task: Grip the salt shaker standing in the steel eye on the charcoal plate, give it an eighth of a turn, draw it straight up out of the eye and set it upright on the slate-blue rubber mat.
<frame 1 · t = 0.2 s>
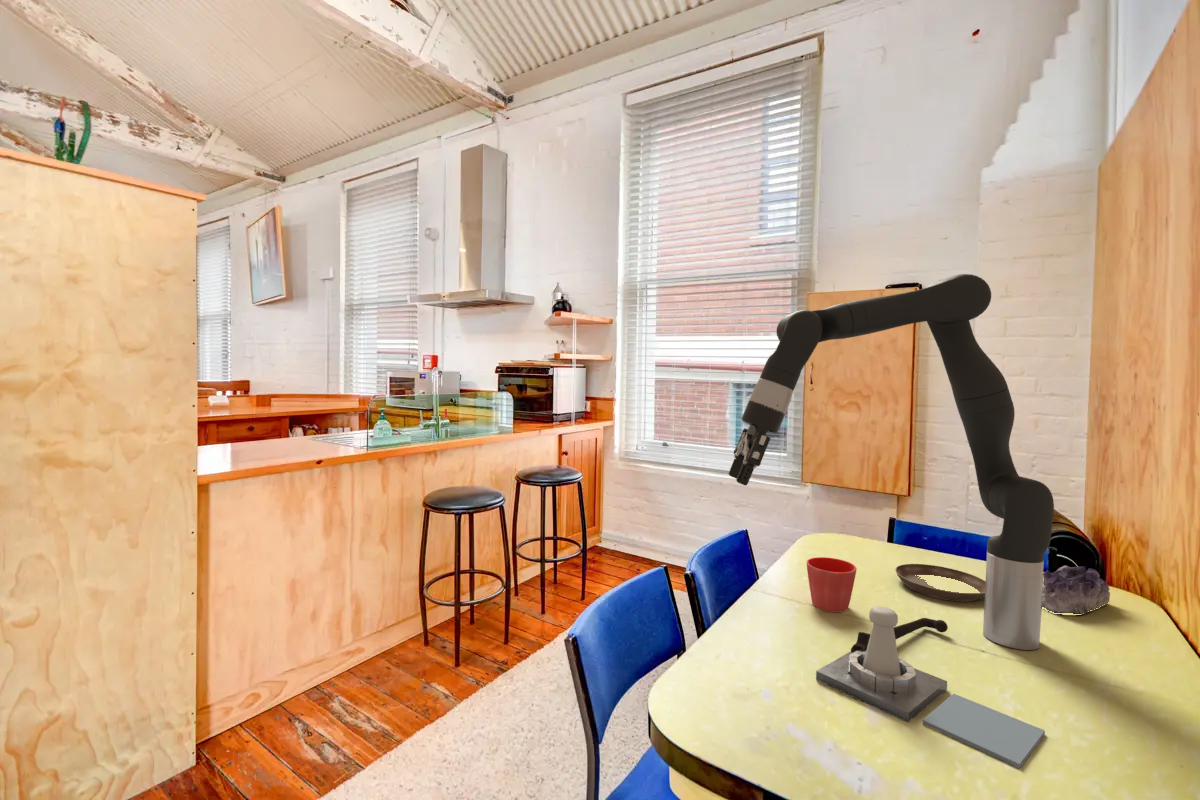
hand: (736, 480, 112), 31 cm above the table, fingers open, 8 cm apart
rubber mat: (983, 729, 83), on the table
plant saucer: (940, 590, 141), on the table
eye plate: (880, 684, 95), on the table
geode: (1071, 607, 132), on the table
salt shaker: (880, 685, 95), resting in eye plate
flower pot: (829, 606, 128), on the table
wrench: (902, 648, 107), on the table, touching eye plate
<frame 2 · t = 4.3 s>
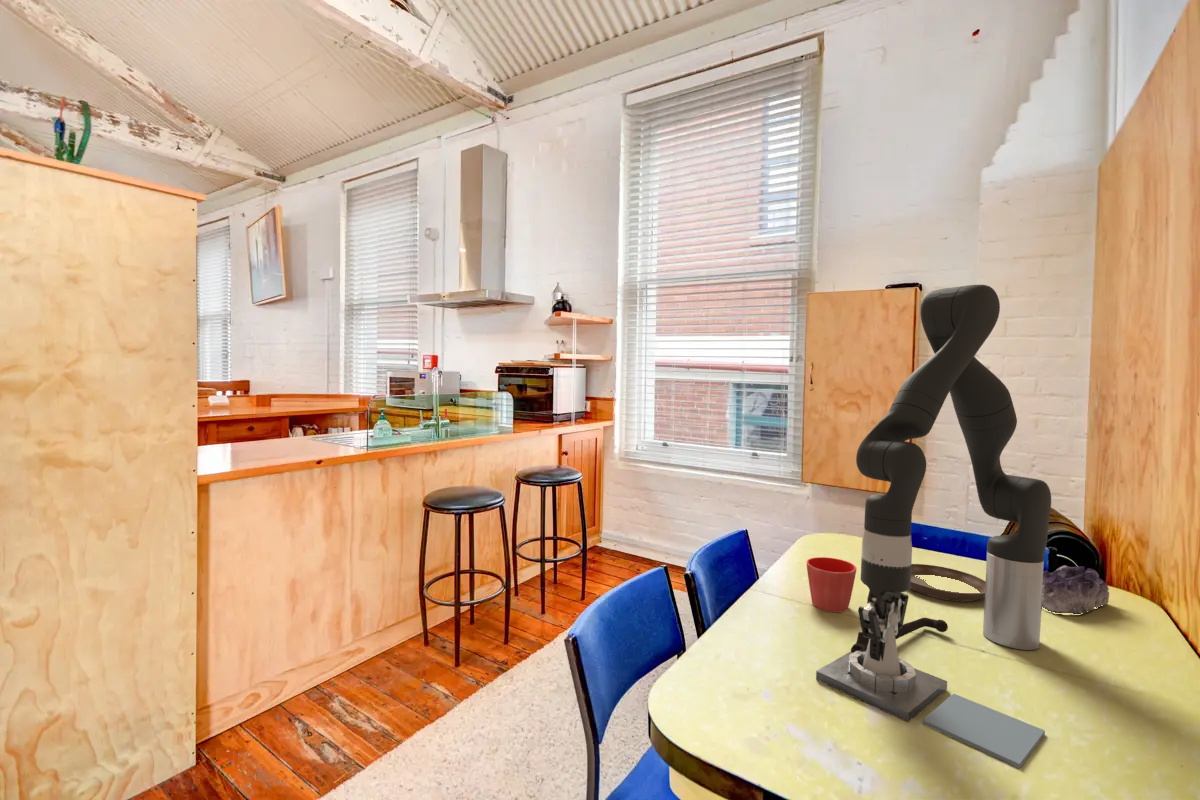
hand: (882, 657, 94), 5 cm above the table, fingers closed on salt shaker, 3 cm apart
salt shaker: (880, 685, 95), resting in eye plate, touching gripper
everything else where it was.
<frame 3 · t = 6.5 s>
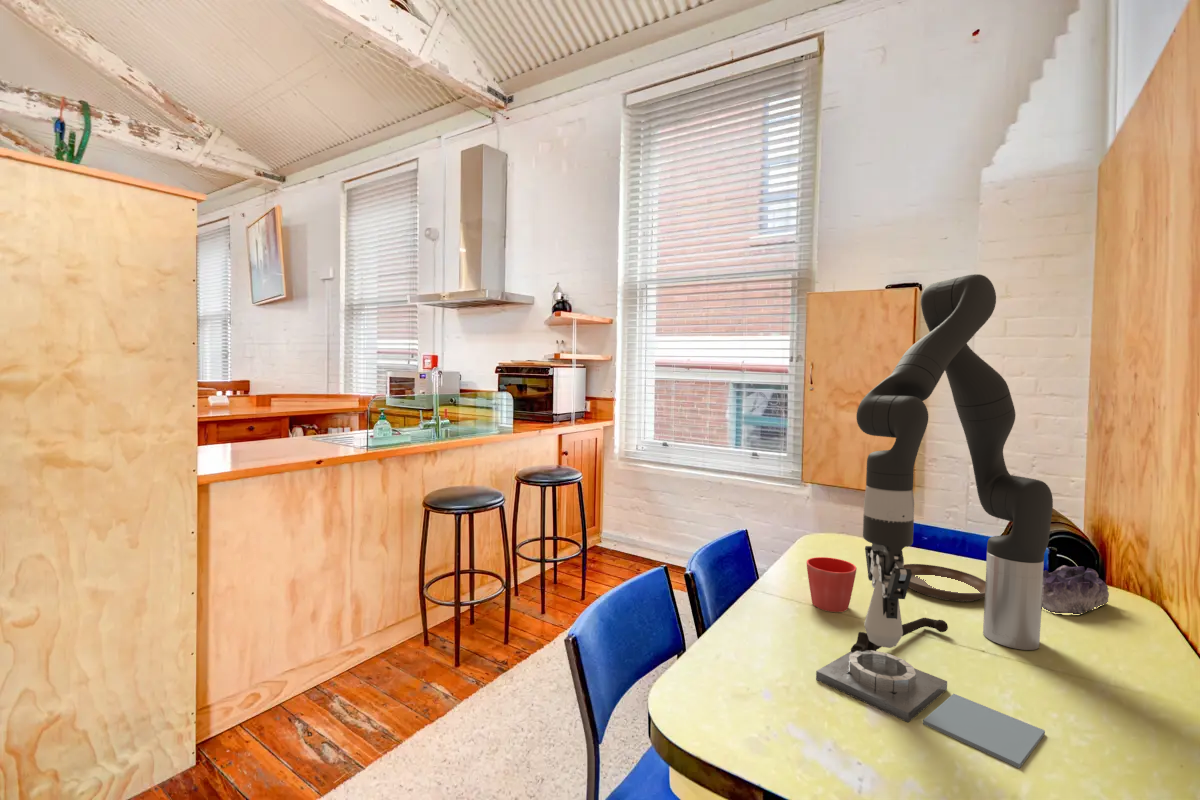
hand: (884, 614, 94), 12 cm above the table, fingers closed on salt shaker, 3 cm apart
salt shaker: (882, 643, 94), point 7 cm above the table, touching gripper
everything else where it was.
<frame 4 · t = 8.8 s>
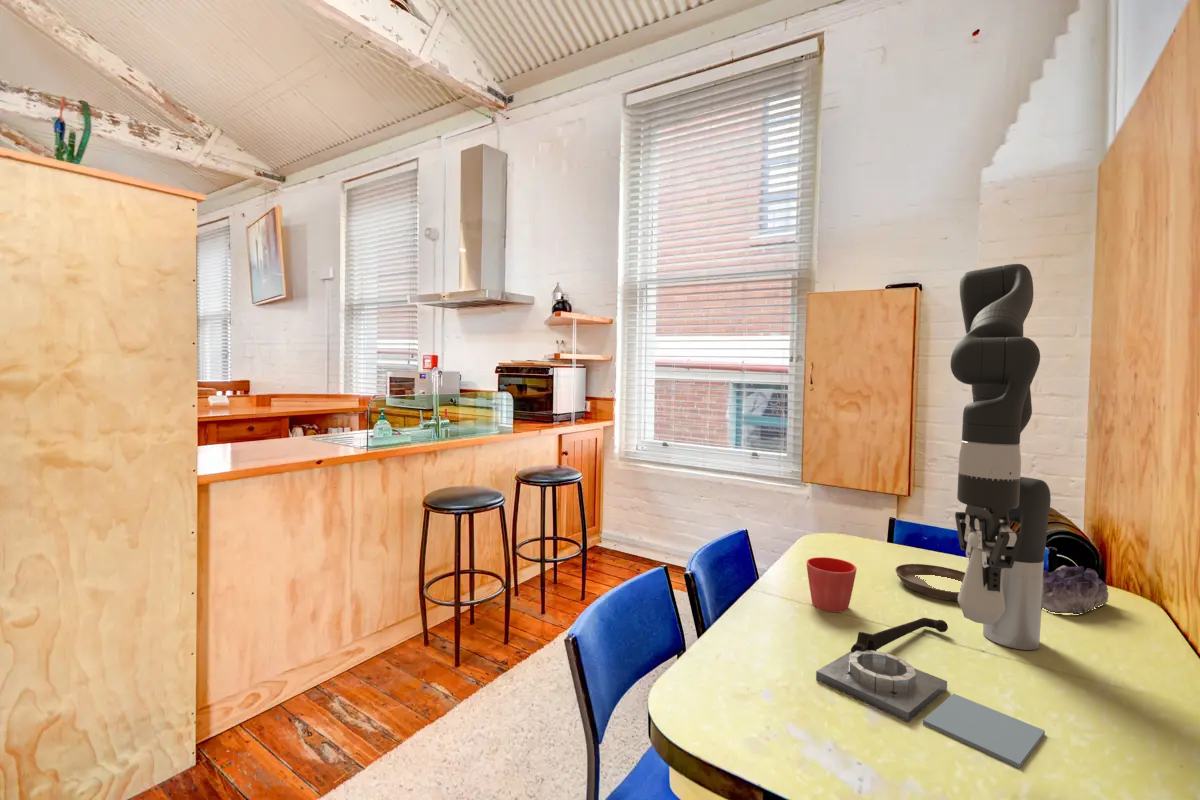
hand: (983, 587, 83), 21 cm above the table, fingers closed on salt shaker, 3 cm apart
salt shaker: (979, 620, 83), point 16 cm above the table, touching gripper
everything else where it was.
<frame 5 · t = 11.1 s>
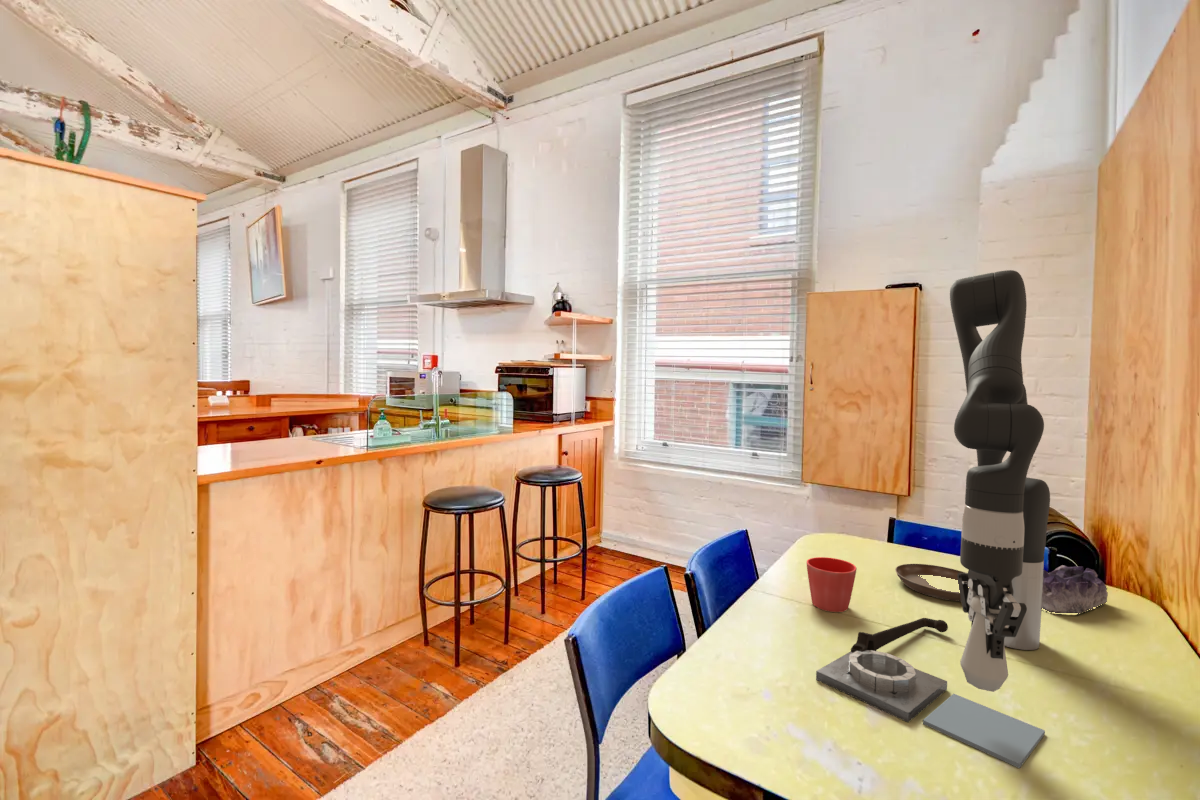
hand: (986, 652, 83), 11 cm above the table, fingers closed on salt shaker, 3 cm apart
salt shaker: (982, 685, 83), point 7 cm above the table, touching gripper
everything else where it was.
when the fingers open (7 cm above the table, at t = 13.1 s): salt shaker drops 1 cm, resting on rubber mat.
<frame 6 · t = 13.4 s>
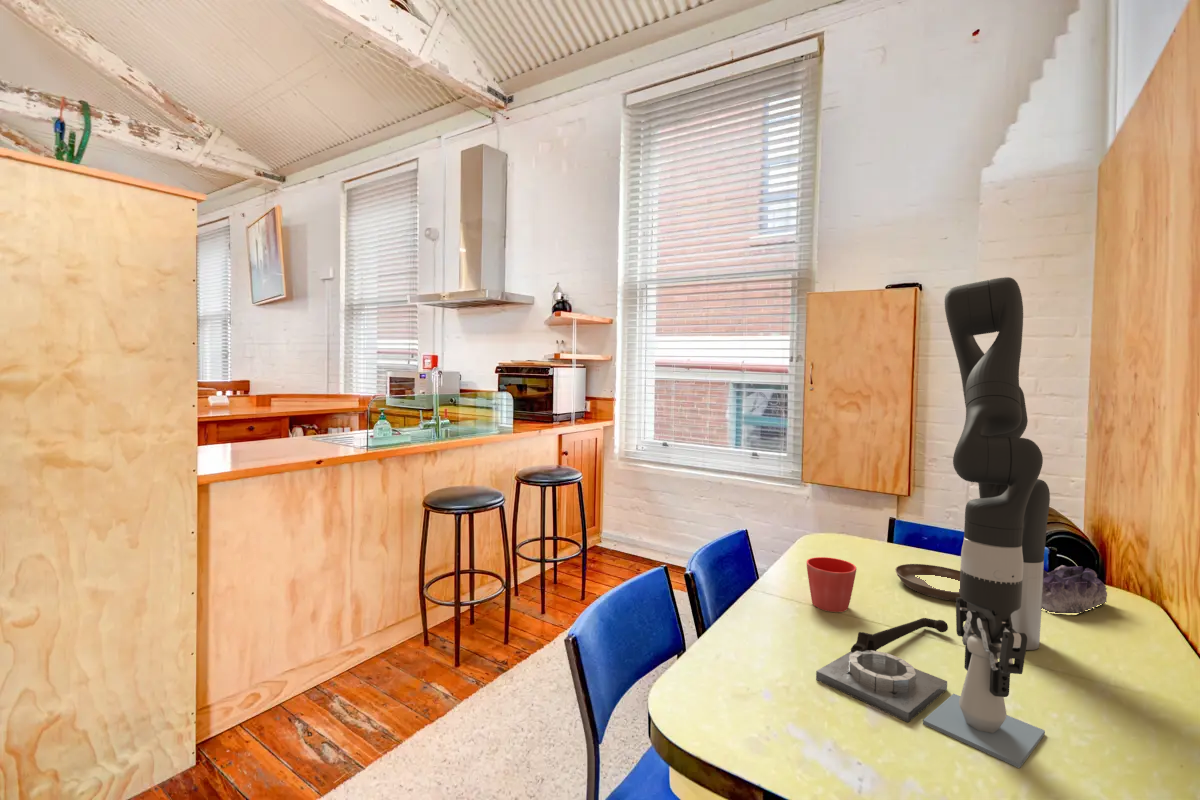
hand: (985, 682, 83), 7 cm above the table, fingers open, 6 cm apart
salt shaker: (981, 725, 83), resting on rubber mat
everything else where it was.
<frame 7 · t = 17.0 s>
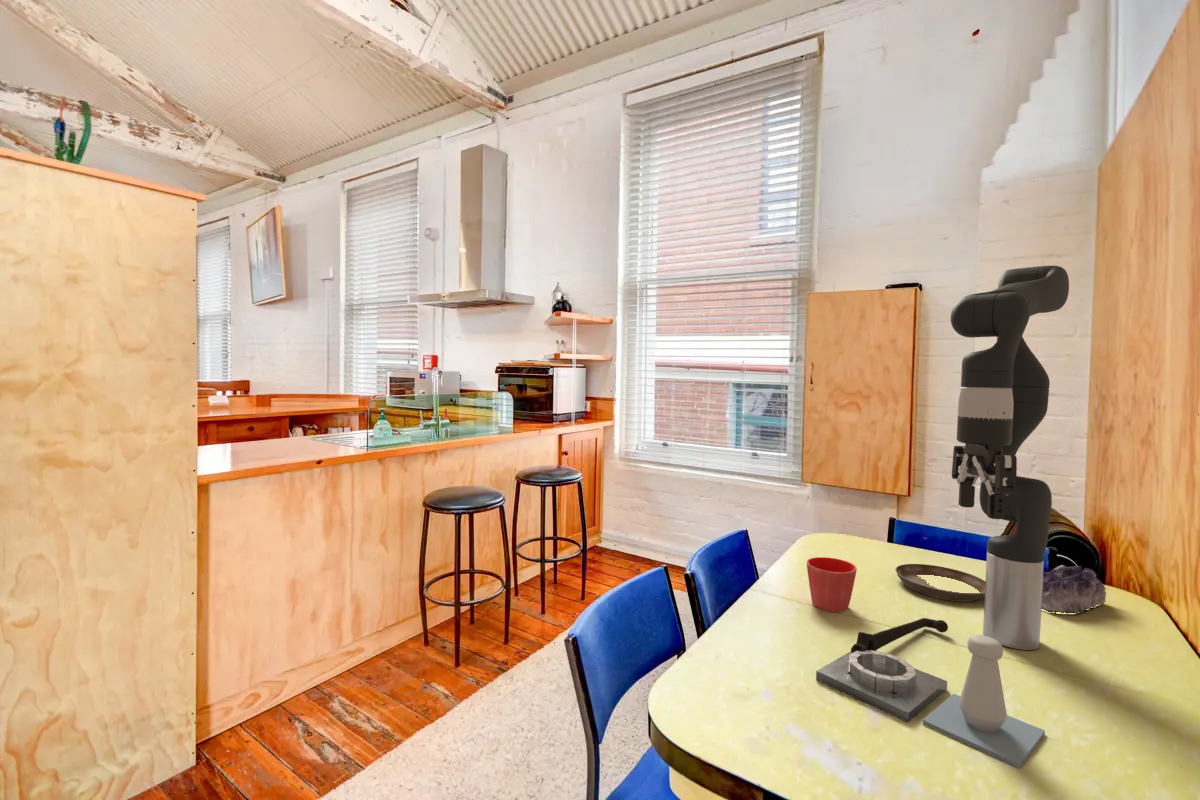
hand: (980, 512, 93), 30 cm above the table, fingers open, 8 cm apart
nothing on the table moved.
at the end: salt shaker inside the target area on the rubber mat (0.2 cm from its centre), point 0.4 cm above the rubber mat's base; salt shaker tilted 0°; salt shaker touching rubber mat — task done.
